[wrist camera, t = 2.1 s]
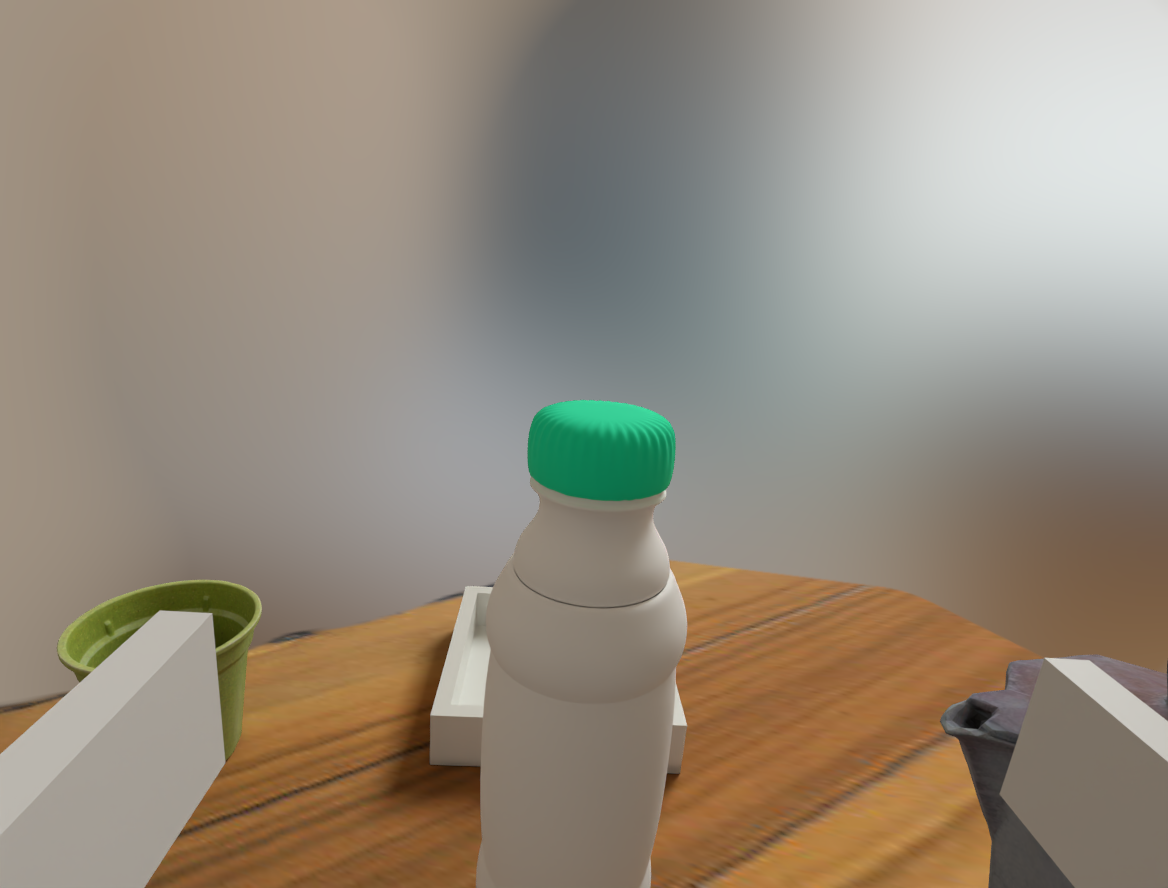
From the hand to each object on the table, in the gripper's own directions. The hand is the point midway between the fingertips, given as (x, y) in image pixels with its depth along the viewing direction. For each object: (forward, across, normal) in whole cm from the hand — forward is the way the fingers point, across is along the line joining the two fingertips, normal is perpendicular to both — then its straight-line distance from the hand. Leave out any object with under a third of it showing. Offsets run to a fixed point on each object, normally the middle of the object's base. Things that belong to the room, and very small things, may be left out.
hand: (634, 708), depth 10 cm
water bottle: (+12, 0, -23) cm, 26 cm away
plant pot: (+24, -22, -23) cm, 40 cm away
